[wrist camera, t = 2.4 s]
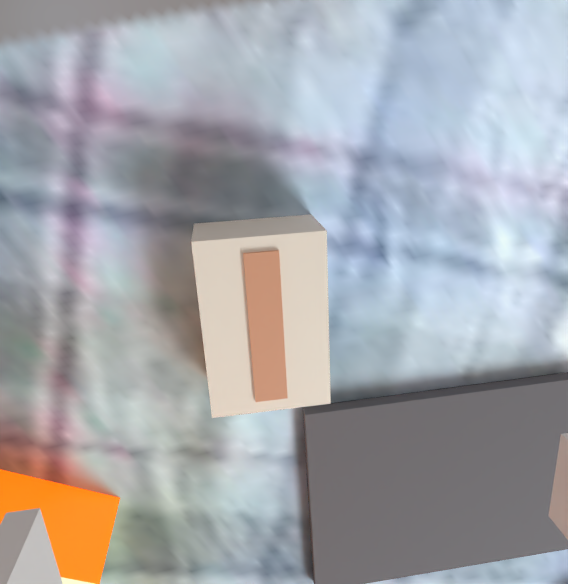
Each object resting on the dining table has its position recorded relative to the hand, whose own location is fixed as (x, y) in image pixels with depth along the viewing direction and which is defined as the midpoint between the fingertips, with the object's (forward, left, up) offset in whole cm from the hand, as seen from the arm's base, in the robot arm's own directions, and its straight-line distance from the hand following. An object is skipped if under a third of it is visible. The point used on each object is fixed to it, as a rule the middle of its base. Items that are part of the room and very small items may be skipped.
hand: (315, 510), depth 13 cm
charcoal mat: (+12, -14, -15) cm, 24 cm away
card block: (0, 0, -16) cm, 16 cm away
